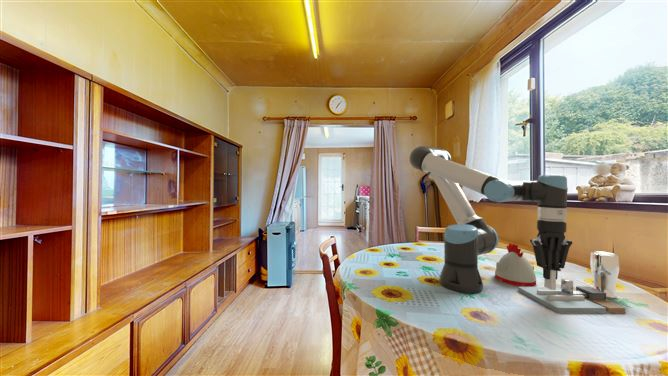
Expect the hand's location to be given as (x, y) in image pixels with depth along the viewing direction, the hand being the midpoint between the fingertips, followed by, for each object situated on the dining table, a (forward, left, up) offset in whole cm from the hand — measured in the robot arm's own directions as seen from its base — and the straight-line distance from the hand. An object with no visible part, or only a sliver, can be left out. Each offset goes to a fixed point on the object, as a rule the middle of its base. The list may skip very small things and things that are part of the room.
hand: (549, 288), depth 83 cm
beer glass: (+24, +5, -4) cm, 25 cm away
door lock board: (+5, 0, -4) cm, 6 cm away
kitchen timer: (+2, +19, -4) cm, 19 cm away
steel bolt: (+9, 0, -2) cm, 9 cm away
